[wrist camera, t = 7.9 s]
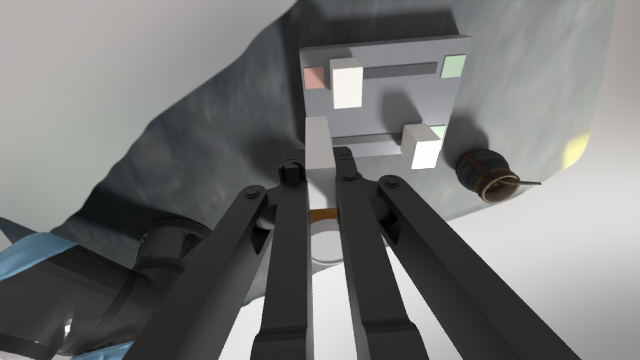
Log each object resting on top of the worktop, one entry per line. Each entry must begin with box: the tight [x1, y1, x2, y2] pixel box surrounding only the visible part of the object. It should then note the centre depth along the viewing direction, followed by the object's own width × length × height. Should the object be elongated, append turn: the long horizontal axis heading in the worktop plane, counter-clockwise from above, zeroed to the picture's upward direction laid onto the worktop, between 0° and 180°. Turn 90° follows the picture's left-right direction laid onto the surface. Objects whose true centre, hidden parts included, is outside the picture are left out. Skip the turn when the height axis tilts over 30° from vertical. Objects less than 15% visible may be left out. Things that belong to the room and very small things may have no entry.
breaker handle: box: [400, 123, 442, 169], centre depth 31 cm, size 3×4×5 cm
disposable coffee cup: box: [310, 205, 344, 265], centre depth 40 cm, size 10×10×12 cm
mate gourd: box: [456, 149, 541, 203], centre depth 37 cm, size 7×8×10 cm
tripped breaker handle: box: [330, 58, 363, 109], centre depth 26 cm, size 3×4×5 cm
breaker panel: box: [299, 34, 473, 157], centre depth 32 cm, size 20×15×3 cm
